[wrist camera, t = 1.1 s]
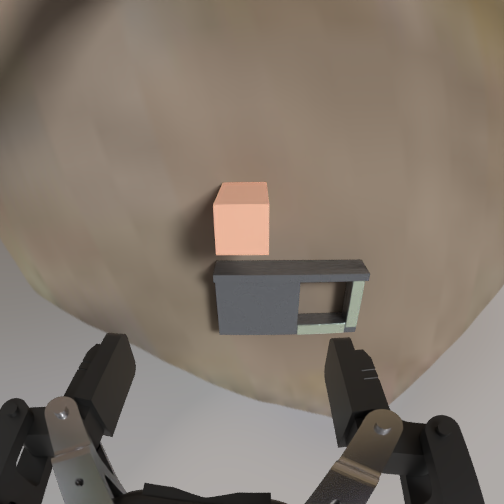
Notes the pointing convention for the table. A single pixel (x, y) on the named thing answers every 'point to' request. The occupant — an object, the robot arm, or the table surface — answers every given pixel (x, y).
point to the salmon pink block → (242, 219)
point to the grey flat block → (284, 296)
